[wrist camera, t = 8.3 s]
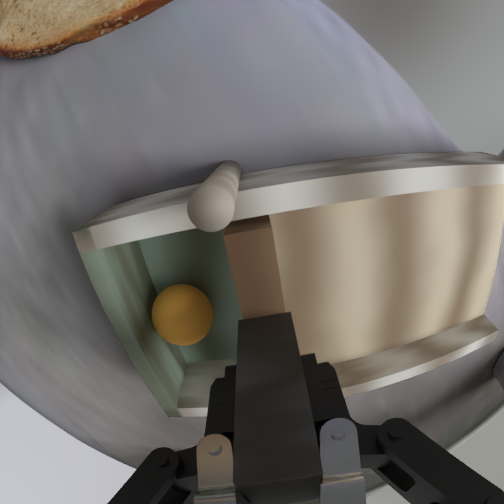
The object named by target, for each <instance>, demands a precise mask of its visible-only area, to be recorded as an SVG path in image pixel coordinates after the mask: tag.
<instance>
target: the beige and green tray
mask: <svg viewBox="0 0 504 504" xmlns="http://www.w3.org/2000/svg"><path fill="white" fill-rule="evenodd" d="M263 215H269V218H270V222H271V226H272V231H273V237H274V243H275V249H276V255H277V261H278V267H279V274H280V280H281V286H282V293H283V299H284V306H285V313H286V312H291V315H292V320H293V324H294V329H295V333H296V338H297V342H298V347H299V352H300V355H305V354H310V353H315V356H316V360H317V363H323V362H329V363H330V364H331V365H332V366H333V367H334V368H335V370H336V373H337V377H338V380H339V383H340V387H341V389H342V393H343V396H344V397H347V396H351V395H355V394H359V393H363V392H366V391H370V390H373V389H377V388H380V387H383V386H387V385H390V384H393V383H396V382H399V381H402V380H405V379H408V378H411V377H413V376H416V375H419V374H421V373H424V372H427V371H429V370H432V369H434V368H437V367H439V366H442V365H444V364H446V363H449V362H451V361H453V360H455V359H458V358H460V357H462V356H464V355H466V354H468V353H470V352H472V351H474V350H476V349H478V348H480V347H482V346H484V345H486V344H488V343H490V342H492V341H494V340H495V337H496V335H497V332H498V329H497V328H496V327H495V326H494V325H493V324H492V323H491V321H490V320H489V319H488V318H487V317H486V316H485V315H484V312H485V308H486V305H487V302H488V298H489V294H490V291H491V287H492V283H493V278H494V274H495V270H496V265H497V260H498V254H499V249H500V243H501V236H502V229H503V220H504V157H500V156H496V155H492V154H488V153H483V152H431V153H408V154H392V155H379V156H367V157H357V158H347V159H338V160H330V161H322V162H314V163H307V164H300V165H293V166H286V167H280V168H274V169H268V170H262V171H256V172H251V173H245V174H241V168H240V166H239V164H238V163H237V162H235V161H232V160H227V161H224V162H223V163H221V164H220V165H219V166H218V168H217V169H216V170H215V171H214V172H213V173H212V174H211V175H210V176H209V177H208V178H207V179H206V180H205V181H204V182H201V183H197V184H192V185H188V186H183V187H179V188H175V189H171V190H167V191H163V192H159V193H155V194H151V195H147V196H144V197H140V198H136V199H133V200H129V201H126V202H122V203H119V204H115V205H114V206H112V207H110V208H109V209H107V210H105V211H104V212H102V213H101V214H99V215H97V216H96V217H94V218H93V219H91V220H90V221H88V222H87V223H85V224H84V225H82V226H81V227H79V228H78V229H76V230H75V231H73V232H72V234H73V237H74V240H75V243H76V245H77V248H78V251H79V253H80V256H81V258H82V261H83V264H84V266H85V269H86V271H87V273H88V276H89V278H90V280H91V283H92V285H93V287H94V290H95V292H96V294H97V296H98V298H99V300H100V303H101V305H102V307H103V309H104V311H105V313H106V315H107V317H108V319H109V321H110V323H111V325H112V327H113V329H114V331H115V332H116V334H117V336H118V338H119V340H120V342H121V344H122V345H123V347H124V349H125V351H126V352H127V354H128V356H129V358H130V359H131V361H132V363H133V364H134V366H135V368H136V369H137V371H138V373H139V374H140V376H141V377H142V379H143V380H144V382H145V384H146V385H147V387H148V388H149V390H150V391H151V393H152V394H153V396H154V397H155V399H156V400H157V402H158V403H159V404H160V406H161V407H162V409H163V410H164V412H165V413H166V414H167V416H168V417H204V416H207V411H208V406H209V405H208V403H209V394H210V387H211V385H212V384H213V382H214V380H215V379H216V378H223V377H224V376H225V367H226V366H230V365H236V363H237V338H238V320H243V316H242V312H241V308H240V304H239V300H238V296H237V292H236V288H235V284H234V280H233V276H232V272H231V268H230V263H229V259H228V255H227V251H226V247H225V243H224V238H223V233H224V229H225V227H226V226H227V225H228V224H229V223H230V222H231V221H235V220H241V219H246V218H252V217H257V216H263ZM177 284H187V285H191V286H194V287H196V288H197V289H199V290H200V291H202V292H203V293H204V294H205V295H206V297H207V298H208V299H209V301H210V303H211V306H212V310H213V322H212V325H211V328H210V330H209V332H208V333H207V334H206V336H205V337H204V338H203V339H201V340H200V341H198V342H196V343H194V344H191V345H186V346H180V345H175V344H172V343H170V342H168V341H166V340H165V339H163V338H162V337H161V336H160V335H159V334H158V332H157V331H156V329H155V327H154V325H153V321H152V307H153V303H154V301H155V299H156V298H157V296H158V295H159V294H160V293H161V292H162V291H163V290H164V289H166V288H168V287H169V286H172V285H177Z"/></svg>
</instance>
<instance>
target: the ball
mask: <svg viewBox="0 0 504 504" xmlns="http://www.w3.org/2000/svg"><path fill="white" fill-rule="evenodd" d="M152 321H153V325H154V327H155V329H156V331H157V332H158V334H159V335H160V336H161V337H162V338H163V339H165V340H166V341H168V342H170V343H172V344H175V345H180V346H186V345H191V344H194V343H196V342H198V341H200V340H201V339H203V338H204V337H205V336H206V334H207V333H208V332H209V330H210V328H211V325H212V322H213V310H212V306H211V303H210V301H209V299H208V298H207V297H206V295H205V294H204V293H203V292H202V291H200V290H199V289H197V288H196V287H194V286H191V285H187V284H177V285H172V286H169V287H168V288H166V289H164V290H163V291H162V292H161V293H160V294H159V295H158V296H157V298H156V299H155V301H154V303H153V307H152Z"/></svg>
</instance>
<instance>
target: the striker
mask: <svg viewBox="0 0 504 504" xmlns="http://www.w3.org/2000/svg"><path fill="white" fill-rule="evenodd" d="M223 238H224V243H225V247H226V251H227V255H228V259H229V263H230V268H231V272H232V276H233V280H234V284H235V288H236V292H237V296H238V300H239V304H240V308H241V312H242V316H243V320H238V338H237V363H236V389H235V418H234V450H233V484H234V485H235V486H236V487H237V488H238V489H239V490H240V491H241V493H242V494H243V495H244V496H245V497H246V498H247V499H248V500H249V501H250V502H251V503H252V504H288V503H296V502H303V501H309V500H315V499H319V496H320V478H323V469H322V464H321V458H320V453H319V447H318V442H317V436H316V431H315V426H314V421H313V416H312V410H311V405H310V400H309V395H308V390H307V385H306V381H305V376H304V371H303V366H302V361H301V357H300V352H299V347H298V342H297V338H296V333H295V329H294V324H293V320H292V315H291V312H286V313H285V306H284V299H283V293H282V286H281V280H280V274H279V267H278V261H277V255H276V249H275V243H274V237H273V231H272V226H271V222H270V218H269V215H263V216H257V217H252V218H246V219H241V220H235V221H231V222H230V223H229V224H228V225H227V226H226V227H225V229H224V233H223Z"/></svg>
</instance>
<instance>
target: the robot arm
mask: <svg viewBox="0 0 504 504" xmlns="http://www.w3.org/2000/svg"><path fill="white" fill-rule="evenodd" d="M300 357H301V361H302V366H303V371H304V376H305V381H306V385H307V390H308V395H309V400H310V405H311V410H312V416H313V421H314V426H315V431H316V436H317V442H318V447H319V453H320V458H321V464H322V469H323V478H320V496H319V504H366V492H365V480H364V476H363V475H362V473H361V468H371V469H372V470H373V471H374V472H375V473H377V474H378V475H379V476H380V477H381V478H382V479H383V480H384V481H385V482H386V483H388V484H389V485H390V486H391V487H392V488H393V489H394V490H395V491H397V492H398V493H399V494H400V495H401V496H403V497H404V498H405V499H406V500H407V501H408V502H410V503H411V504H504V492H503V491H502V490H501V489H500V488H498V487H497V486H495V485H494V484H492V483H491V482H490V481H488V480H487V479H485V478H484V477H482V476H481V475H479V474H478V473H477V472H475V471H474V470H472V469H471V468H470V467H468V466H467V465H465V464H464V463H463V462H461V461H460V460H458V459H457V458H456V457H454V456H453V455H451V454H450V453H449V452H448V451H446V450H445V449H443V448H442V447H441V446H439V445H438V444H437V443H435V442H434V441H433V440H431V439H430V438H429V437H427V436H426V435H425V434H424V433H422V432H421V431H420V430H418V429H417V428H416V427H414V426H413V425H412V424H411V423H409V422H408V421H406V420H404V419H401V418H393V419H389V420H387V421H385V422H384V423H383V424H382V425H362V424H359V423H357V422H355V421H354V420H353V419H352V418H351V417H350V415H349V412H348V409H347V406H346V402H345V399H344V396H343V393H342V389H341V387H340V383H339V380H338V377H337V373H336V370H335V368H334V367H333V366H332V365H331V364H330V363H329V362H323V363H317V360H316V356H315V353H310V354H305V355H300ZM493 374H494V376H495V377H496V379H497V380H498V382H499V383H500V385H501V386H502V388H503V389H504V351H503V353H502V354H501V356H500V357H499V359H498V360H497V362H496V364H495V366H494V369H493ZM235 389H236V365H230V366H226V367H225V376H224V377H223V378H216V379H215V380H214V382H213V384H212V385H211V387H210V394H209V403H208V405H209V406H208V411H207V420H206V429H205V435H204V437H203V438H202V439H201V440H200V441H199V443H198V444H197V445H196V446H194V447H192V448H189V449H185V450H181V451H177V452H175V451H174V450H172V449H170V448H166V447H161V448H157V449H155V450H153V451H152V452H151V453H150V454H149V455H148V457H147V458H146V459H145V460H144V461H143V463H142V464H141V465H140V466H139V468H138V469H137V470H136V471H135V472H134V473H133V475H132V476H131V477H130V478H129V479H128V481H127V482H126V483H125V484H124V485H123V486H122V488H121V489H120V490H119V491H118V492H117V493H116V495H115V496H114V497H113V498H112V499H111V500H110V502H109V503H108V504H189V503H190V502H191V500H192V499H193V498H194V504H252V503H251V502H250V501H249V500H248V499H247V498H246V497H245V496H244V495H243V494H242V493H241V491H240V490H239V489H238V488H237V487H236V486H235V485H234V484H233V450H234V418H235Z"/></svg>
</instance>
